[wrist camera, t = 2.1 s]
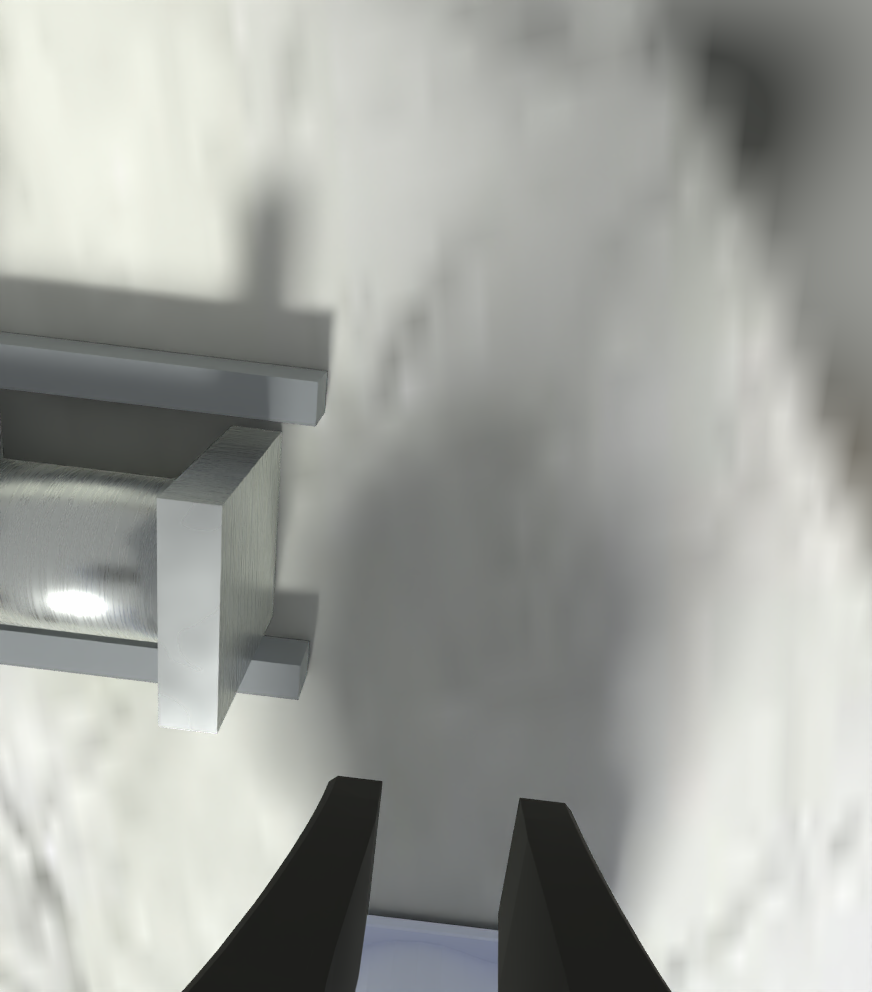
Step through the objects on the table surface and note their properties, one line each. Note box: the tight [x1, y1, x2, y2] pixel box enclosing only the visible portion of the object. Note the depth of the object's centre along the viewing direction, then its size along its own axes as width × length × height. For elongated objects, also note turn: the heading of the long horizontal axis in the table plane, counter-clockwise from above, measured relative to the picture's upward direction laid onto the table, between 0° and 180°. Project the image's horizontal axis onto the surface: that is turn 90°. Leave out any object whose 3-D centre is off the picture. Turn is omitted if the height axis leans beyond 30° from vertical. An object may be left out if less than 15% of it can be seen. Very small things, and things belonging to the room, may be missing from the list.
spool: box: [0, 415, 282, 734], centre depth 18 cm, size 8×5×5 cm, turn 84°
